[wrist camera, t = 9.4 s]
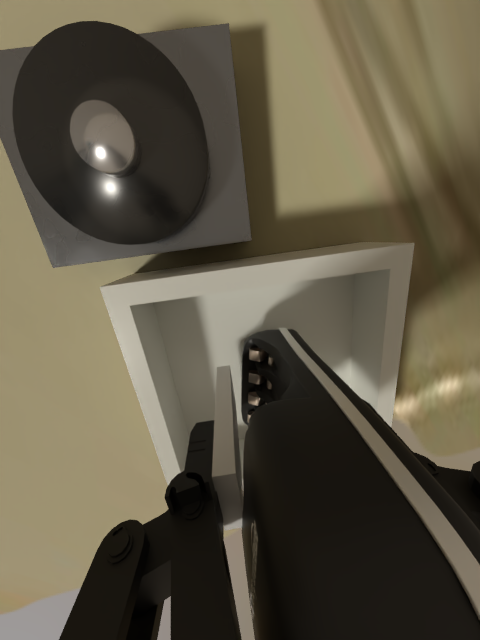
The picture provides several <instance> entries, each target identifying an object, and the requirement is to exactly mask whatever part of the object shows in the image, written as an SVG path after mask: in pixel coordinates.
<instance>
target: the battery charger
mask: <svg viewBox="0 0 480 640" xmlns="http://www.w3.org/2000/svg"><path fill="white" fill-rule="evenodd" d="M241 377H242V379H241V413H242V419H243V422H244V423H245V424H246V425H247V426H248V429H247V431H246V434H245V441H244V451H243V490H244V499H243V512H242V538H243V548H244V557H245V566H246V574H247V581H248V589H249V598H250V606H251V613H252V620H253V629H254V635H255V640H480V530H479V529H478V528H477V527H476V525H475V524H474V523H473V522H472V520H471V519H470V518H469V517H468V515H467V514H466V513H465V512H464V511H463V510H462V508H461V507H460V506H459V505H458V504H457V503H456V502H455V501H454V499H453V498H452V497H451V496H450V495H449V494H448V493H447V492H446V490H445V489H444V488H443V487H442V486H441V485H440V484H439V483H438V481H437V480H436V479H435V478H434V477H433V476H432V475H431V474H430V473H429V471H428V470H427V469H426V468H425V467H424V466H423V465H422V464H421V463H420V461H419V460H418V459H417V458H416V457H415V456H414V455H413V454H412V453H411V451H410V450H409V449H408V448H407V447H406V446H405V445H404V444H403V443H402V442H401V440H400V439H399V438H398V437H397V436H396V435H395V434H394V433H393V432H392V431H391V430H390V428H389V427H388V426H387V425H386V424H385V423H384V422H383V421H382V420H381V419H380V418H379V417H378V416H377V415H376V414H375V413H374V411H373V410H372V409H371V408H370V407H369V406H368V405H367V404H366V403H365V402H364V401H363V400H362V399H361V398H360V397H359V396H358V395H357V394H356V393H355V392H354V391H353V390H352V389H351V388H350V387H349V386H348V385H347V384H346V383H345V382H344V381H343V380H342V379H341V378H340V377H339V376H338V375H337V374H336V373H335V372H334V371H333V370H332V369H331V368H330V367H329V366H328V365H327V364H326V363H325V362H324V361H323V360H322V359H321V358H320V357H319V356H318V355H317V354H316V353H315V352H314V351H313V350H312V349H311V348H310V346H309V345H308V344H307V343H306V342H305V341H304V340H303V338H302V337H301V336H300V335H299V334H298V332H297V331H295V330H293V329H287V328H278V329H276V330H264V331H260V332H256V333H254V334H252V335H250V336H249V337H248V338H247V339H246V340H245V341H244V344H243V349H242V373H241Z"/></svg>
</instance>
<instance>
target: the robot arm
mask: <svg viewBox="0 0 480 640" xmlns="http://www.w3.org/2000/svg"><path fill="white" fill-rule="evenodd" d="M362 400H363V399H362ZM363 401H364V402H365V403H366V404H367V405H368V406H369V407H370V408H371V409H372V410H373V411H374V413H375V414H376V415H377V416H378V417H379V418H380V419H381V420H382V421H383V422H384V423H385V424H386V425H387V426H388V427H389V428H390V430H391V431H392V432H393V433H394V434H395V435H396V436H397V434H396V433H395V432H394V431H393V430H392V428H391V427H390V426H389V425H388V424H387V423H386V421H384V419H383V418H382V417H381V416H380V415H379V414H378V413H377V411H376V410H375V409H374V408H373V407H372V406H371V405H370V403H368V402H366V401H365V400H363ZM397 437H398V438H399V439H400V440H401V442H402V443H403V444H404V445H405V446H406V447H407V448H408V449H409V447H408V446H407V445H406V444H405V443H404V442H403V441H402V439H401V438H400V437H399V436H397ZM409 450H410V449H409ZM410 451H411V450H410ZM411 453H412V454H413V455H414V456H415V457H416V458H417V459H418V460H419V461H420V463H421V464H422V465H423V466H424V467H425V468H426V469H427V470H428V471H429V473H430V474H431V475H432V476H433V477H434V478H435V479H436V480H437V481H438V483H439V484H440V485H441V486H442V487H443V488H444V489H445V490H446V492H447V493H448V494H449V495H450V496H451V497H452V498H453V499H454V501H455V502H456V503H457V504H458V505H459V506H460V507H461V508H462V510H463V511H464V512H465V513H466V514H467V515H468V517H469V518H470V519H471V520H472V522H473V523H474V524H475V525H476V527H477V528H478V529H479V530H480V461H479V462H477V463H475V464H473V466H472V470H471V471H463V470H457V469H449V468H444V467H439V466H437V465H436V464H435V463H434V462H432V461H431V460H429V459H428V458H426V457H424V456H422V455H420V454H417V453H414V452H412V451H411ZM243 499H244V497H243V485H242V472H241V460H240V448H239V435H238V423H237V410H236V400H235V394H234V388H233V382H232V376H231V370H230V365H228V366H221V367H217V375H216V397H215V419H214V420H210V421H204V422H198V423H196V424H195V426H194V427H193V429H192V431H191V432H190V438H189V445H188V450H187V456H186V462H185V468H184V471H182V472H181V473H179V474H177V475H176V476H175V477H174V478H173V479H172V480H171V482H170V484H169V485H168V487H167V489H166V494H165V500H166V503H167V505H168V508H169V509H168V510H167V511H166V512H165V513H163V514H162V515H160V516H159V517H157V518H155V519H153V520H151V521H149V522H147V523H145V524H143V525H142V524H141V523H140V522H139V521H137V520H127V521H124V522H121V523H120V524H119V525H117V526H116V527H114V528H113V529H112V530H111V531H110V532H109V533H108V534H107V535H106V536H105V538H104V539H103V541H102V542H101V544H100V546H99V548H98V550H97V552H96V554H95V557H94V559H93V561H92V564H91V566H90V568H89V571H88V573H87V575H86V578H85V580H84V582H83V585H82V587H81V589H80V592H79V594H78V596H77V599H76V601H75V604H74V606H73V608H72V611H71V613H70V615H69V617H68V620H67V622H66V625H65V627H64V629H63V632H62V634H61V636H60V639H59V640H157V637H158V631H159V626H160V621H161V615H162V610H163V604H164V600H165V599H167V598H168V597H170V596H171V640H241V634H240V628H239V623H238V617H237V612H236V606H235V600H234V594H233V589H232V583H231V577H230V572H229V566H228V561H227V555H226V549H225V545H224V541H223V525H224V529H225V530H230V529H236V528H242V512H243Z"/></svg>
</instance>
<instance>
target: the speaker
mask: <svg viewBox="0 0 480 640" xmlns="http://www.w3.org/2000/svg"><path fill="white" fill-rule="evenodd" d="M0 138H1V140H2V143H3V145H4V148H5V150H6V153H7V155H8V158H9V160H10V163H11V165H12V168H13V170H14V173H15V175H16V178H17V180H18V183H19V185H20V187H21V190H22V192H23V195H24V197H25V200H26V202H27V205H28V207H29V210H30V212H31V215H32V217H33V220H34V222H35V225H36V227H37V230H38V232H39V235H40V237H41V240H42V242H43V245H44V247H45V249H46V252H47V254H48V257H49V259H50V262H51V264H52V267H53V268H55V267H63V266H70V265H77V264H84V263H92V262H99V261H106V260H113V259H121V258H128V257H135V256H142V255H150V254H157V253H164V252H171V251H179V250H186V249H193V248H200V247H208V246H215V245H222V244H229V243H237V242H244V241H251V240H252V239H251V230H250V220H249V211H248V201H247V192H246V182H245V173H244V163H243V154H242V144H241V135H240V125H239V116H238V106H237V97H236V87H235V78H234V68H233V59H232V49H231V40H230V30H229V23H228V24H220V25H211V26H203V27H194V28H186V29H177V30H169V31H160V32H152V33H143V34H136V33H134V32H132V31H130V30H128V29H126V28H123V27H120V26H117V25H114V24H111V23H105V22H98V21H82V22H76V23H72V24H67V25H65V26H62V27H60V28H58V29H55V30H54V31H52V32H51V33H49V34H48V35H46V36H45V37H43V38H42V39H41V40H40V41H39V42H38V43H37V44H36V45H35V46H32V47H24V48H15V49H7V50H0Z"/></svg>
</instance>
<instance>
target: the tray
mask: <svg viewBox="0 0 480 640" xmlns="http://www.w3.org/2000/svg"><path fill="white" fill-rule="evenodd" d="M414 244H415V243H397V242H358V243H351V244H344V245H336V246H329V247H322V248H315V249H308V250H301V251H293V252H286V253H279V254H272V255H265V256H258V257H250V258H243V259H236V260H229V261H222V262H215V263H207V264H200V265H193V266H186V267H179V268H171V269H164V270H157V271H150V272H143V273H136V274H132V275H129V276H127V277H124V278H122V279H119V280H116V281H114V282H111V283H109V284H106V285H104V286H101V287H100V289H101V292H102V295H103V298H104V301H105V304H106V307H107V310H108V313H109V316H110V319H111V321H112V324H113V327H114V330H115V333H116V336H117V339H118V342H119V345H120V348H121V351H122V353H123V356H124V359H125V362H126V365H127V368H128V371H129V374H130V377H131V380H132V382H133V385H134V388H135V391H136V394H137V397H138V400H139V403H140V406H141V409H142V412H143V414H144V417H145V420H146V423H147V426H148V429H149V432H150V435H151V438H152V441H153V444H154V446H155V449H156V452H157V455H158V458H159V461H160V464H161V467H162V470H163V473H164V476H165V478H166V481H167V484H168V485H169V484H170V482H171V480H172V479H173V478H174V477H175V476H176V475H177V474H179V473H181V472H182V471H184V468H185V462H186V456H187V450H188V445H189V438H190V432H191V431H192V429H193V427H194V426H195V424H196V423H198V422H204V421H210V420H214V419H215V397H216V375H217V367H221V366H228V365H230V370H231V376H232V382H233V388H234V394H235V400H236V410H237V423H238V435H239V448H240V460H241V472H242V485H243V451H244V441H245V434H246V431H247V429H248V426H247V425H246V424H245V423H244V422H243V419H242V413H241V379H242V377H241V373H242V349H243V344H244V341H245V340H246V339H247V338H248V337H249V336H250V335H252V334H254V333H256V332H260V331H264V330H276V329H278V328H287V329H293V330H295V331H297V332H298V334H299V335H300V336H301V337H302V338H303V340H304V341H305V342H306V343H307V344H308V345H309V346H310V348H311V349H312V350H313V351H314V352H315V353H316V354H317V355H318V356H319V357H320V358H321V359H322V360H323V361H324V362H325V363H326V364H327V365H328V366H329V367H330V368H331V369H332V370H333V371H334V372H335V373H336V374H337V375H338V376H339V377H340V378H341V379H342V380H343V381H344V382H345V383H346V384H347V385H348V386H349V387H350V388H351V389H352V390H353V391H354V392H355V393H356V394H357V395H358V396H359V397H360V398H361V399H363V400H365V401H366V402H368V403H370V405H371V406H372V407H373V408H374V409H375V410H376V411H377V413H378V414H379V415H380V416H381V417H382V418H383V419H384V421H386V423H387V424H388V425H389V426H390V427H391V425H392V417H393V409H394V402H395V394H396V386H397V378H398V370H399V362H400V354H401V346H402V338H403V331H404V323H405V315H406V307H407V299H408V291H409V283H410V275H411V267H412V259H413V252H414Z"/></svg>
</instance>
